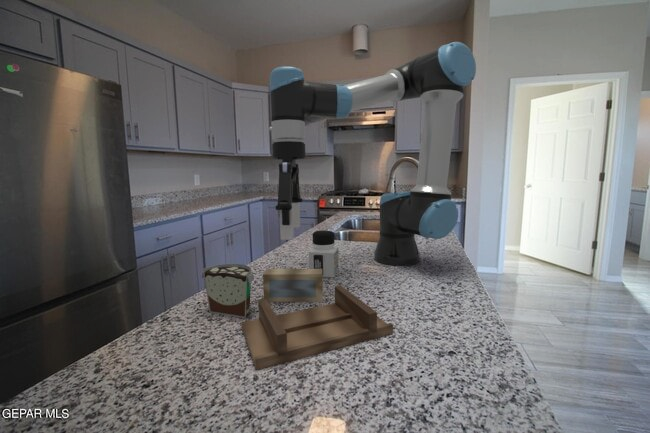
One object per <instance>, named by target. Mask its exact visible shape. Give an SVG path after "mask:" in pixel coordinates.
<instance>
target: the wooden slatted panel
mask: <svg viewBox="0 0 650 433" xmlns="http://www.w3.org/2000/svg"><path fill="white" fill-rule="evenodd" d="M257 303H258V304H257V305H258V318H257V319H256V318H255V319H252V320H247V321H242V322H241V325H240V326H241V330H242V332H243V334H244V335H243V336H244V338H245V341H246V344H247V347H248V351H249V353H250V356H251V359H252V361H253V365H254V367H255V371H258V370H260V369H266V368H269V367H272V366H276V365H280V364H283V363H287V362H291V361H295V360H298V359H302V358H307V357H309V356H313V355H317V354H318V355H319V354H320V353H324V352H328V351H332V350H336V349H340V348H343V347H348V346H352V345H355V344H359V343H362V342H366V341H369V340H373V339H377V338H381V337H385V336H389V335H392V334H394V324H393V323H391V322H389V323H387V322H385V321H384V320H382V318H380V317H379V316H378V312H377V311H375V309H373V308H371V307H370V306H369V305H368V304H367V303H365V302H364V301H362V300H361V299H360V298H358V297H357V296H356V295H354V294H353V293H352V292H350V291H349V290H348V289H347V288H345V286H342V285H336V286H334V303H330V304H325V305H321V306H320V305H319V306H315V307H311V308H310V307H309V308H305V309H301V310H300V309H299V310H296V311H290V312H285V313H280V314H276V313H275V312H274V310H273V308H272V306H271V305H270V302H268V301H267V300H266V299H264V298H263V299H258V302H257Z"/></svg>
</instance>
